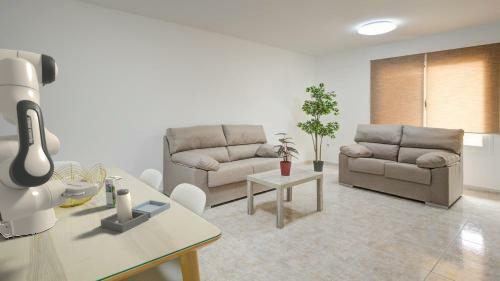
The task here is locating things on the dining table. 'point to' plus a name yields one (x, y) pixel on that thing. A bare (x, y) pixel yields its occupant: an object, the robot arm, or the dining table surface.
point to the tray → (152, 207)
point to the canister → (123, 206)
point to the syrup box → (112, 189)
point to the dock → (113, 225)
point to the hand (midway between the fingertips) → (93, 182)
